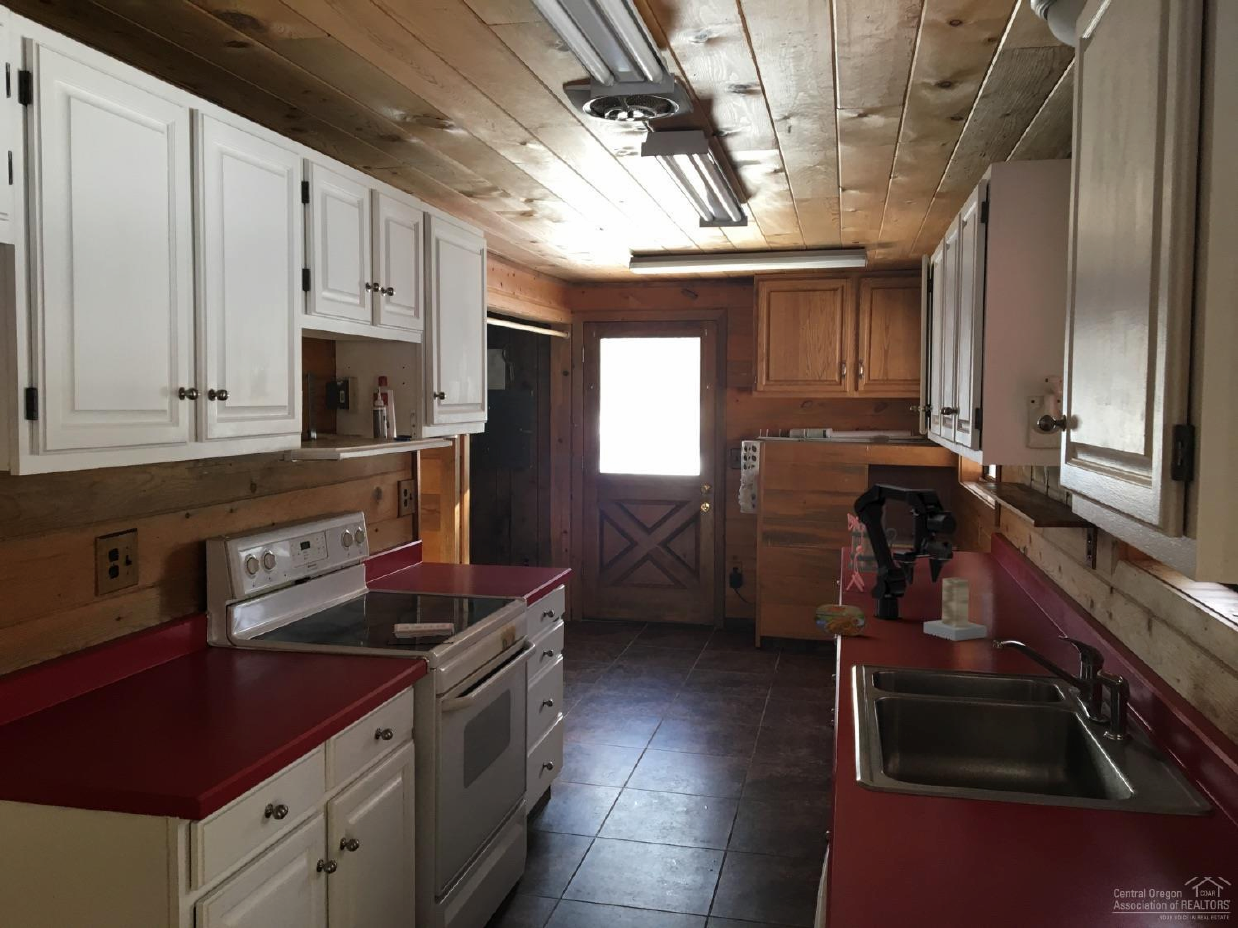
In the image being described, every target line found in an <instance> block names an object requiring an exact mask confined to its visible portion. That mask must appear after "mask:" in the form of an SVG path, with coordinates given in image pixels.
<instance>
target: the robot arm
mask: <svg viewBox="0 0 1238 928" xmlns="http://www.w3.org/2000/svg"><path fill="white" fill-rule="evenodd" d="M888 499H890V500H894V501H898V502H903V503H906V504H907V505H908V506H909V507H911V508H912V509H911V510H910V511H909V512H907V513H908V515H909V516H913V531H912V532H913V533H911V534H910V536H909V537H910V538H912V539H913V543H912V544H913V545H912V546H913V547H910V548H909V549H910V550H906V549H899V550H894V551H893V553H892V551H891V552H890V549H889V548H890V545H889V542H888V539H887V538H886V536H885V531H884V527H883V525H882V519H883V514H884V511H883V508H884V507H885V506H886V504H887V502H888ZM853 511H854V512H855V514H856V518H857V517H858V520H859V521H861V522H862V523H863V524H864V525H865V526H866V529H867V533H868V536H869V539H870V542H871V546H872V549H873V552H874V555H875V559H876V562H877V565H878V573H876V577H875V578H876V584H875V585H874V587H873V588H872V589H871V591H870V593H871V598H873V599H876V613H875V614H872V616H873V617H874V618H878V619H882V620H886V621H889V620H897V619H902V618H903V616H901V615H900V614H899V611H900V609H899V608H900V607H899V606H900V605H899V599H903V598H904V595H905V593H906V588H908V587H907V586H908V585H910V586H912V585H913V583H914V575H915V572H914V569H915V566H916V565H917V563H918V562H916V560H917V559H923V558H924V559H925V558H928V563H929V569H930V576H931V581H932V583H935V584H936V583H937V580H938V579H939V576H940V574H941V571H942V568H943V567H944V565H946V564H947V563H949V562H950V561H951V560H952V559H954V551H953V548H954V547H953V543H952V542H951V541H949V540H948V541H943V542H940V541H938V536H937V534H940V535H941V534H942V535H947V536H950V535H953V534H954V533H955V532H956V530H957V526H958V524H957V520H956V518H955V517H954V516H953V515H952V511H951V510H945V507H944V506H943V504H942V502H941V499H940V498H939V495H937V491H936V490H935V489H932V488H921V489H920V488H919V489H918V488H917V489H911V488H905V487H901V486H895V485H890V484H888V483H876V484H874V485H873V486H871V488H870V489H868V490H867V491H865V492H863V493H862V494H860V496H859V497H858V498H857V499H855V502H854V503H853ZM892 558H893V559H892ZM893 560H894V562H895V563H899V565H900V566H899V567H898V566H896V565H895V564H894V562H893ZM907 584H908V585H907Z"/></svg>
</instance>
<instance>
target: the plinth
mask: <svg viewBox="0 0 1238 928" xmlns="http://www.w3.org/2000/svg"><path fill="white" fill-rule="evenodd" d="M987 632H988V631H987V626H986V625H981V624H977V623H975V622H974V623H973V622H970V621H968V625H966V626H958V627H954V626H950V625H946V624H942V619H941V620H932V621H924V622H923V633H924V634H928V635H931V634H932V635H931V636H935V635H936V636H935V637H938V636H939V638H942V639H946V638H947V639H946V640H949V639H950V640H949V641H953V642H957V641H965V640H967V641H968V640H973V639H974V640H975V639H980V638H986V637H987Z"/></svg>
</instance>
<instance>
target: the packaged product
mask: <svg viewBox="0 0 1238 928" xmlns="http://www.w3.org/2000/svg"><path fill="white" fill-rule="evenodd" d="M393 626H394V627H393V630H394V631H393V633H395V636H396V638H413V637H422V636H436V635H443V636H444V635H451V634H454V632H455V624H454V623H452V622H440V623H438V622H435V623H434V622H432V623H431V622H430V623H429V622H428V623H426V622H425V623H423V622H422V623H395V624H394V625H393Z"/></svg>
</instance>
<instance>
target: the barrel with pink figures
mask: <svg viewBox="0 0 1238 928" xmlns="http://www.w3.org/2000/svg"><path fill="white" fill-rule="evenodd" d="M858 520H859V519H858V517H857V516H856V517H855V516H853V515H852V514H850V513H847V522H848V523H847V527H848V528H847V529H848V532H850V531H852V529H853V527H855V528H856V529H857V530H858V531H860V532H861V533H862V537H861V546H858V547H857V548H856V551H857V552H858V553H857V554H855V558H854V572H853V573H854V574H852V579H851V581H850V583H848V586H847V587H846V590H848V591H849V590H850V588H851V587H852V585H853V583H854V584H855V585H856V586H857V587H858V589H859V590H860V591H861V592H862V591H863V592H864V590H863V586H864V587H865V582H864V581H863V578H862V577H861V575H860V573H859V572H858V567H857V559H856V557H857V556H858V555H859V553H862V552H863V551H864V548H863V547H862V541H863V532H862V531H861V530H860V525H859V523H858V522H859V521H858ZM850 525H851V526H850ZM864 527H865V528H866V526H865V525H864ZM855 559H856V567H857V572H856V571H855ZM850 586H851V587H850ZM841 593H843V594H845V592H841Z"/></svg>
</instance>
